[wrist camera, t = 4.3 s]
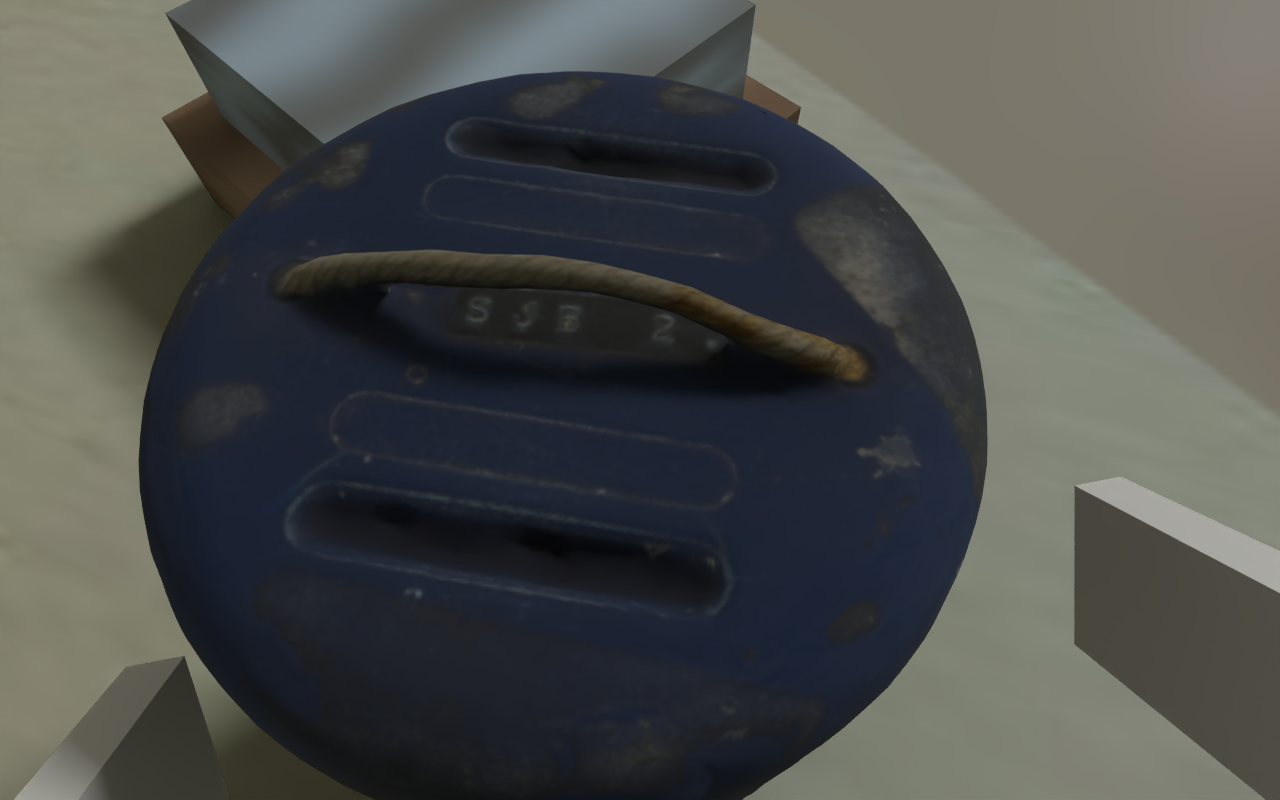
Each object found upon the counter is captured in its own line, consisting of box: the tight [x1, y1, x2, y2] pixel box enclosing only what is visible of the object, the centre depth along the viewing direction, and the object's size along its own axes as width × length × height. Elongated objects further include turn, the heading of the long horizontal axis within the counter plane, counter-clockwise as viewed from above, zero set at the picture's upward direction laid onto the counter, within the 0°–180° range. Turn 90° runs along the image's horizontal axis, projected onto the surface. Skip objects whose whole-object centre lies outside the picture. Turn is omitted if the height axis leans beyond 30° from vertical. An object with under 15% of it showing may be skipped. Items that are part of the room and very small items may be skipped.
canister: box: [139, 71, 987, 800], centre depth 15 cm, size 10×10×18 cm
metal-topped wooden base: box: [162, 0, 801, 219], centre depth 29 cm, size 16×16×8 cm
